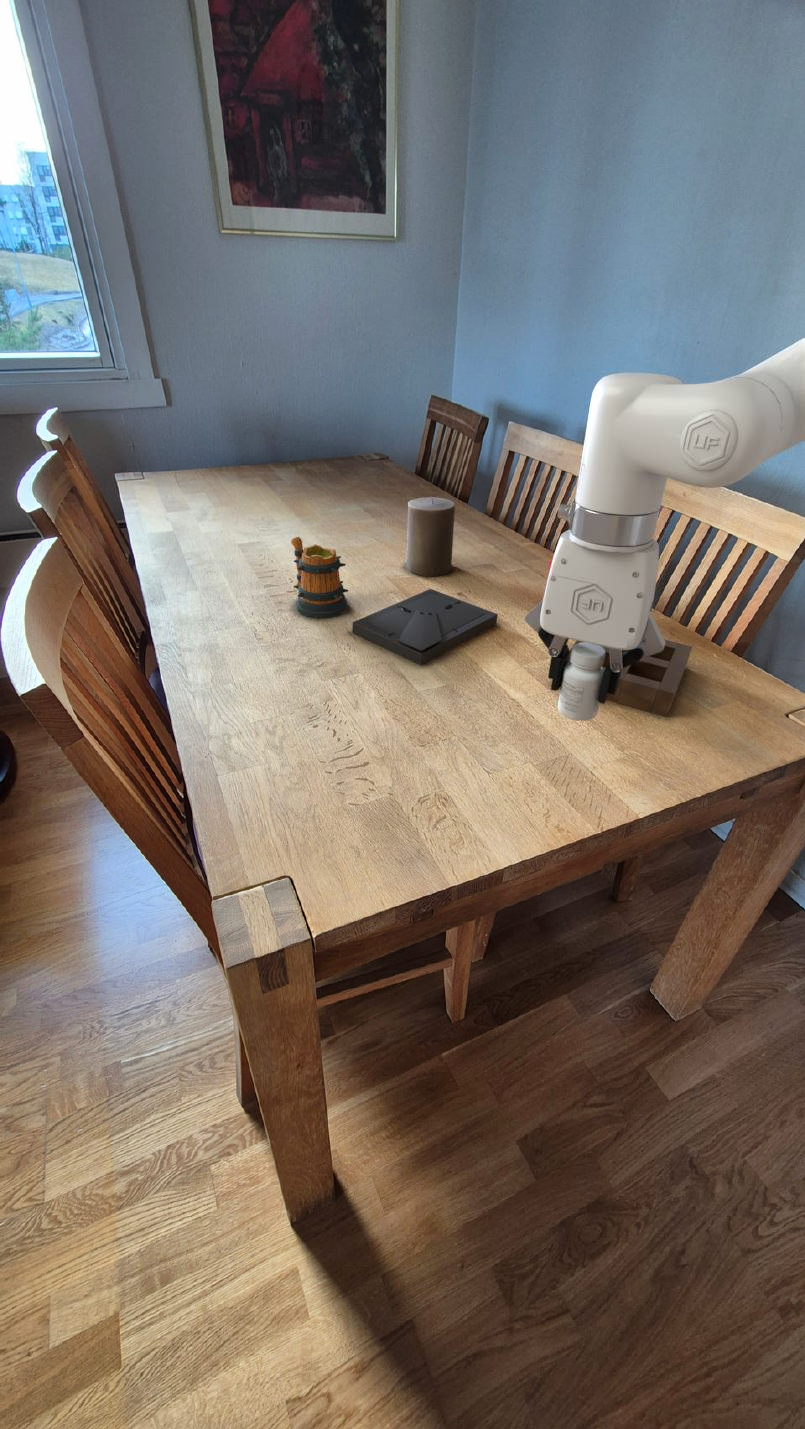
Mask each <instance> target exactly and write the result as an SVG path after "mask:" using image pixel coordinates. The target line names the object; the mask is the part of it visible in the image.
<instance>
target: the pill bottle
mask: <svg viewBox="0 0 805 1429" xmlns="http://www.w3.org/2000/svg"><path fill="white" fill-rule="evenodd" d="M574 644H575V643H574ZM574 644H573V645H574ZM573 645H572V646H573ZM572 646H571V648H572V651H571V656H570V662H568V663H567V664H566V665H565V667H564V670H563V676H562V681H561V687H560V688H559V694H558V700H557V710H558V712H559V713H560V714H561V715H562V716H563V717H565V718H567V719H569V720H572V721H580V722H584V721H589V720H592V719H594V718H595V717H596V716H597V715H598V712H599V709H600V708H599V707H600V704H601V703H599V701H598V697H599V692H600V687H601V682H602V678H603V673H604V668H603V667H602V665H603V663H604V660H605V654H606V652H605V649H604V648H603V647H601V646H599V645H594V644H590V643H578V644H575V645H574V646H573V647H572Z"/></svg>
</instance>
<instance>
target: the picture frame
mask: <svg viewBox="0 0 805 1429" xmlns="http://www.w3.org/2000/svg"><path fill="white" fill-rule="evenodd" d="M498 617H499V616H498V613H495V612H493V611H490V610H488V609H485V608H483V607H479V606H477V605H475V604H472V603H469V602H467V601H463V600H461V599H459V598H456V597H453V596H451V595H449V594H445V593H443V592H440V591H438V590H435V589H433V588H429V589H426V590H424V591H422V592H420V593H418V594H415V595H413V596H410V597H408V598H406V599H404V600H401V601H399V602H396V603H393V604H392V605H389V606H386V607H384V608H382V609H380V610H377V611H375V612H372V613H371V614H368V615H366V616H363V617H361V618H359V619H357V620H354V621H352V622H351V626H352V627H351V628H352V630H351V631H352V632H351V633H352V634H353V635H356V636H357V637H360V638H362V639H364V640H366V641H368V642H371V643H373V644H374V645H376V646H379V647H380V648H383V649H385V650H387V651H390V652H391V653H394V654H395V655H398V656H399V657H401V658H404V659H406V660H408V661H410V662H412V663H415V664H416V665H419V666H423V665H425V664H426V663H429V662H430V661H432V660H434V659H435V658H438V657H440V656H441V655H444V653H446V652H449V651H451V650H452V649H454V648H456V647H458V646H460V645H461V644H463V643H465V642H467V641H469V640H471V639H473V638H475V637H476V636H478V635H480V634H483V633H484V632H486V631H488V630H489V629H491V628H494V627H496V626H497V623H498Z"/></svg>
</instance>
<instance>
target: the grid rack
mask: <svg viewBox="0 0 805 1429" xmlns="http://www.w3.org/2000/svg"><path fill="white" fill-rule="evenodd" d="M664 640H665V643H666V644H665V647H664V649H663V651H662V652H660V653H657V654H654V655H651V656H648V657H644V658H641V659H640V660H639V661H637V662H635V663H633V664H631V665H629V666H627V667H625V668H623V669H622V671H621V675H620V680H619V684H618V688H617V691H616V693H615V695H611V694H609V696H608V698H607V700H606V701H610V702H613V703H616V704H620V705H623V706H627V707H630V708H634V709H637V710H640V711H644V712H647V713H652V714H654V715H657V716H662V717H665V718H668V716H669V713H670V711H671V709H672V705H673V702H674V701H675V697H676V694H677V692H678V689H679V686H680V684H681V681H682V678H683V676H684V673H685V670H686V668H687V665H688V662H689V659H690V655H691V653H692V650H693V646H691V645H688V644H684V643H680V642H676V641H672V640H667V639H664ZM645 641H646V639H645V637H644V635H643V637H642V640H641V641H640V643H639V644H641V643H643V642H645ZM578 643H586V642H581V641H577V640H575V642H574V644H573V645H572V646H571V647H570V648H569V651H570V656H571V651H572V647H573V646H574V645H575V644H578ZM601 647H603V646H601ZM603 648H604V649H605V652H606V654H605V660H604V663H603V665H602V667H603V668H604V670H605V669H606V667H607V665H608V663H609V662H610V653H609V648H608V647H603ZM570 656H569V662H570Z"/></svg>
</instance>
